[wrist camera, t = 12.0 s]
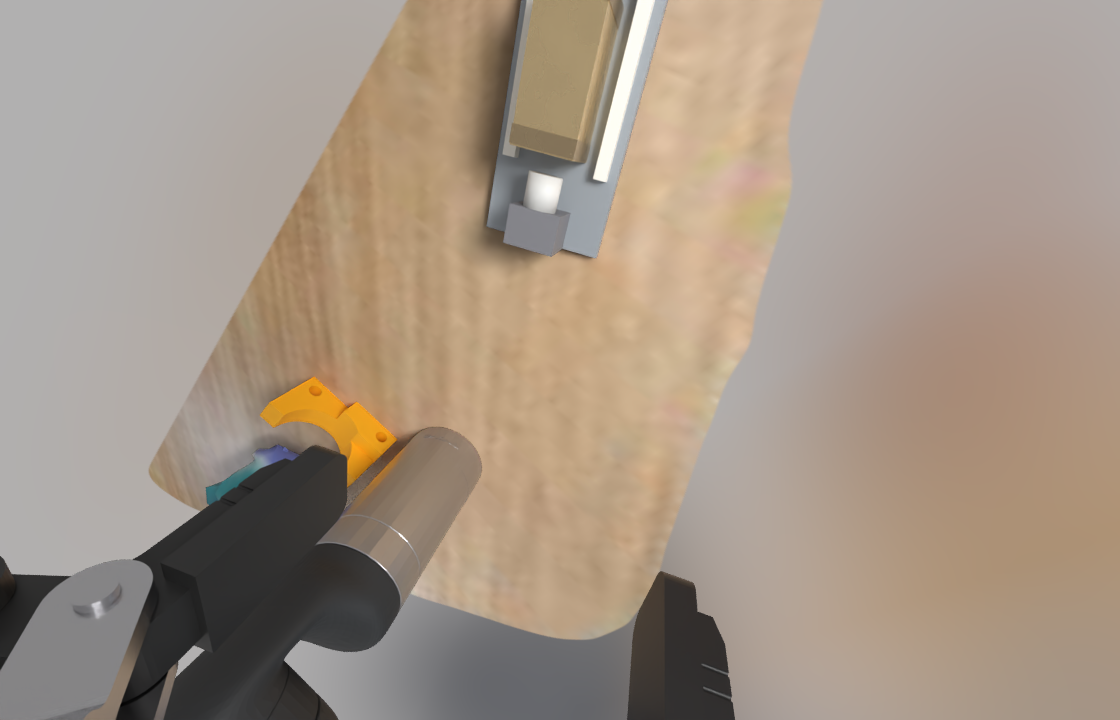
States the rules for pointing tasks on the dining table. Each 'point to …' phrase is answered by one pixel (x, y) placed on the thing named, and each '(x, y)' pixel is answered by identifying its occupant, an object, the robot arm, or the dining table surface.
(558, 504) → the dining table surface
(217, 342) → the dining table surface
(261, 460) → the figurine
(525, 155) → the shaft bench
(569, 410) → the dining table surface
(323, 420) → the pipe clamp
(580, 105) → the tan tapered block
